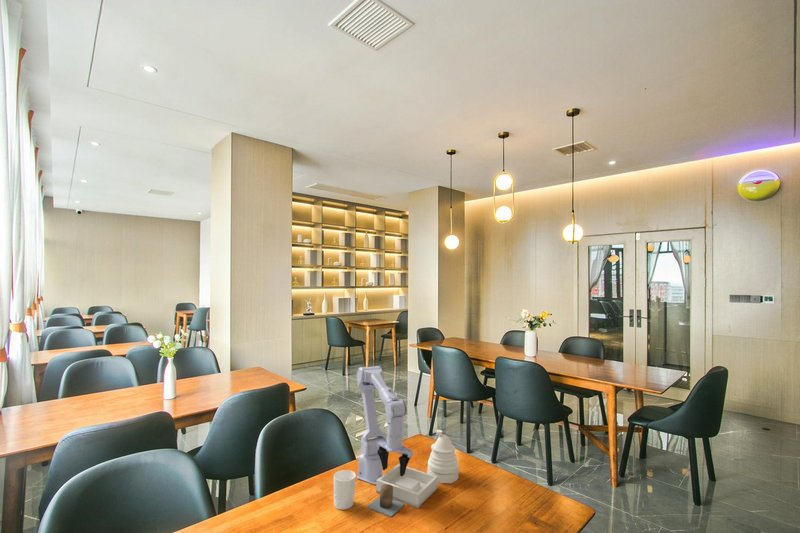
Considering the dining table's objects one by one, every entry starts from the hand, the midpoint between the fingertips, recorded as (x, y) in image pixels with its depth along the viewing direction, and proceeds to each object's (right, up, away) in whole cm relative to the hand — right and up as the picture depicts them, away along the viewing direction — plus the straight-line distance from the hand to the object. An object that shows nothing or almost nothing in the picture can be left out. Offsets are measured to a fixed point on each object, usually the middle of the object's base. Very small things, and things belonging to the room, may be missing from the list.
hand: (393, 472), depth 138 cm
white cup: (-18, -9, -5) cm, 20 cm away
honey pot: (+20, -12, +18) cm, 30 cm away
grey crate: (+5, -10, +6) cm, 13 cm away
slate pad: (-3, -9, -5) cm, 11 cm away
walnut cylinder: (-3, -9, -5) cm, 11 cm away
